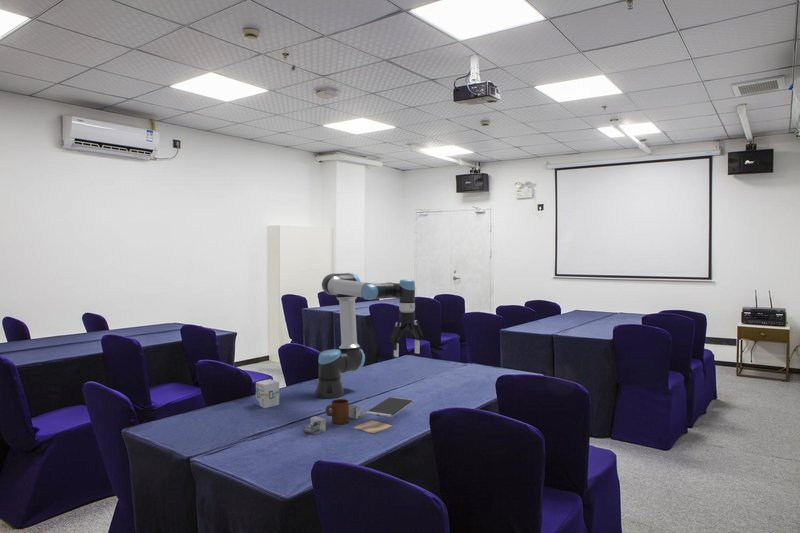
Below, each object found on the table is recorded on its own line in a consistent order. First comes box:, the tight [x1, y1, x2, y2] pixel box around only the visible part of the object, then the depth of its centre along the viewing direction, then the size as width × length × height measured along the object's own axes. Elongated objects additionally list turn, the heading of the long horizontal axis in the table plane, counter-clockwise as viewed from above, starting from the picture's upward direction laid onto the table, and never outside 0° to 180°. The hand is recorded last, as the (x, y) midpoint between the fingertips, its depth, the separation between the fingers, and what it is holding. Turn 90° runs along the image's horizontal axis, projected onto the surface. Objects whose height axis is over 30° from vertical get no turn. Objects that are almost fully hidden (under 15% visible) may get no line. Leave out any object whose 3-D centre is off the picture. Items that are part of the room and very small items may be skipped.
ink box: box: [255, 378, 280, 409], centre depth 250 cm, size 8×8×12 cm
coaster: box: [352, 419, 393, 435], centre depth 217 cm, size 12×12×1 cm
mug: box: [325, 398, 350, 426], centre depth 222 cm, size 12×8×9 cm, turn 139°
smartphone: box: [365, 396, 413, 418], centre depth 246 cm, size 13×27×2 cm, turn 156°
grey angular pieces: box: [302, 404, 367, 436], centre depth 221 cm, size 7×33×5 cm, turn 142°
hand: (406, 355), depth 244 cm, fingers open, 13 cm apart
